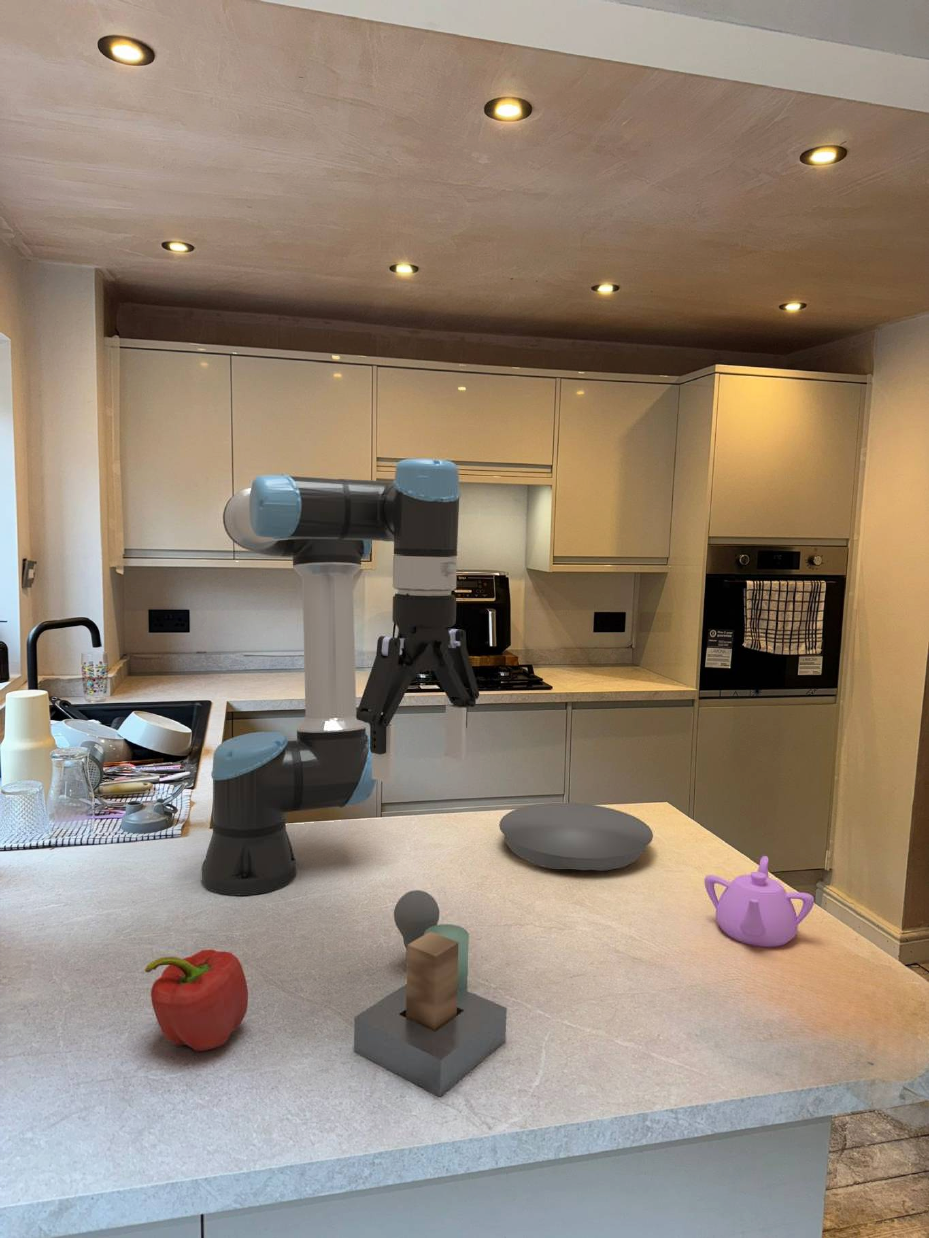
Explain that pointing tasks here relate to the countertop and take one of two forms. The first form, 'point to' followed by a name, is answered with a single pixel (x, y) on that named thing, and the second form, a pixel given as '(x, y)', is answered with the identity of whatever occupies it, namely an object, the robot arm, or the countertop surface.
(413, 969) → the walnut square peg
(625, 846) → the flat disc
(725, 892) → the teapot
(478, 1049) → the bore block
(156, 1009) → the vegetable
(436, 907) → the light bulb
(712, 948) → the countertop surface
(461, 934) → the green round bit
